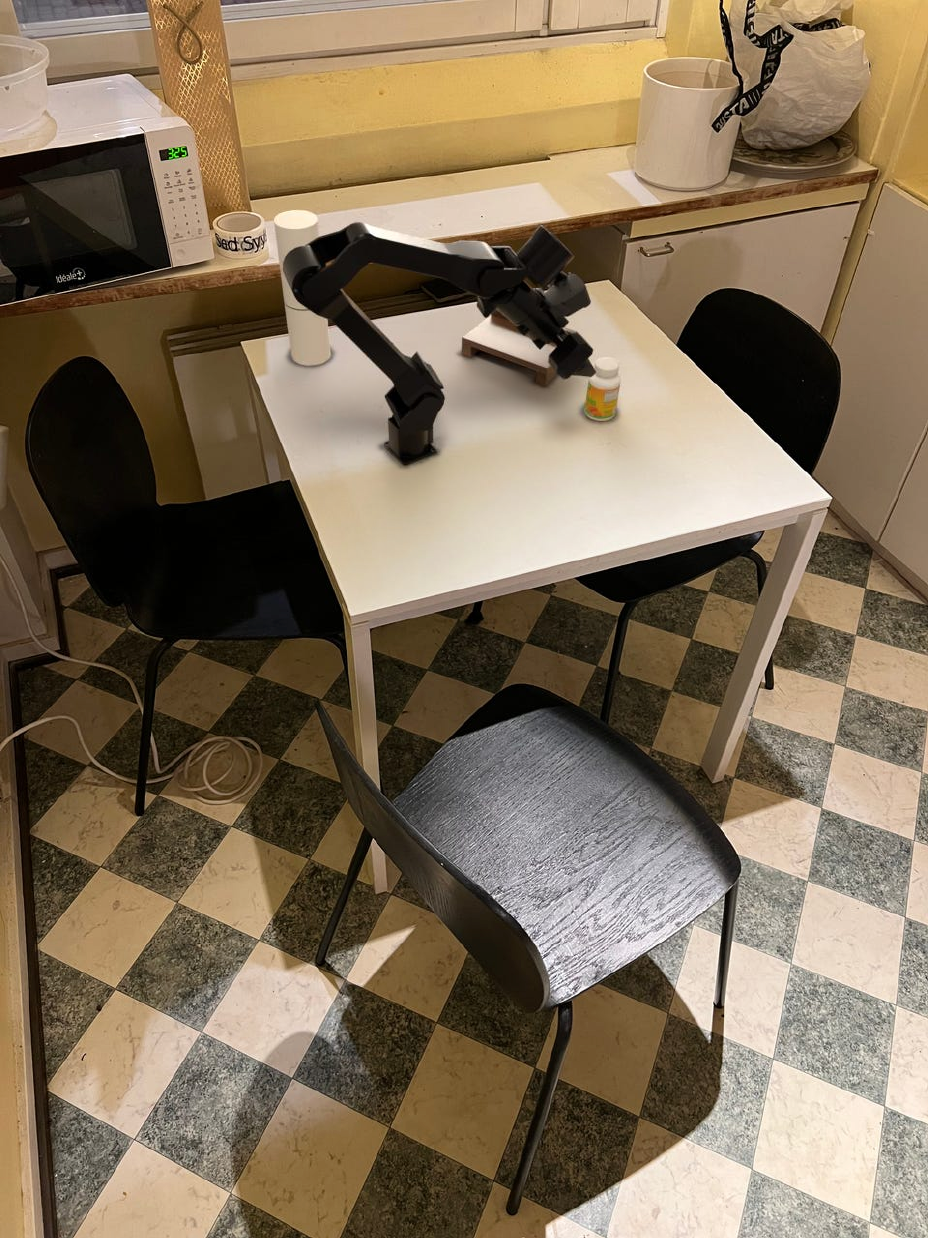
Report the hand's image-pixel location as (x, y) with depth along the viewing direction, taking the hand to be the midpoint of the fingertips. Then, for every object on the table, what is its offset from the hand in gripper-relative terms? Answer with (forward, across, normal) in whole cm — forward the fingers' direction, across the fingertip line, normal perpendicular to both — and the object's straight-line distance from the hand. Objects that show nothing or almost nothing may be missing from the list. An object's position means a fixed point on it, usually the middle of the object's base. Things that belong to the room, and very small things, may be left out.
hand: (581, 359), depth 148 cm
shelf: (+7, +21, +9) cm, 24 cm away
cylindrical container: (-19, +33, +35) cm, 52 cm away
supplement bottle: (+12, 0, +5) cm, 13 cm away
